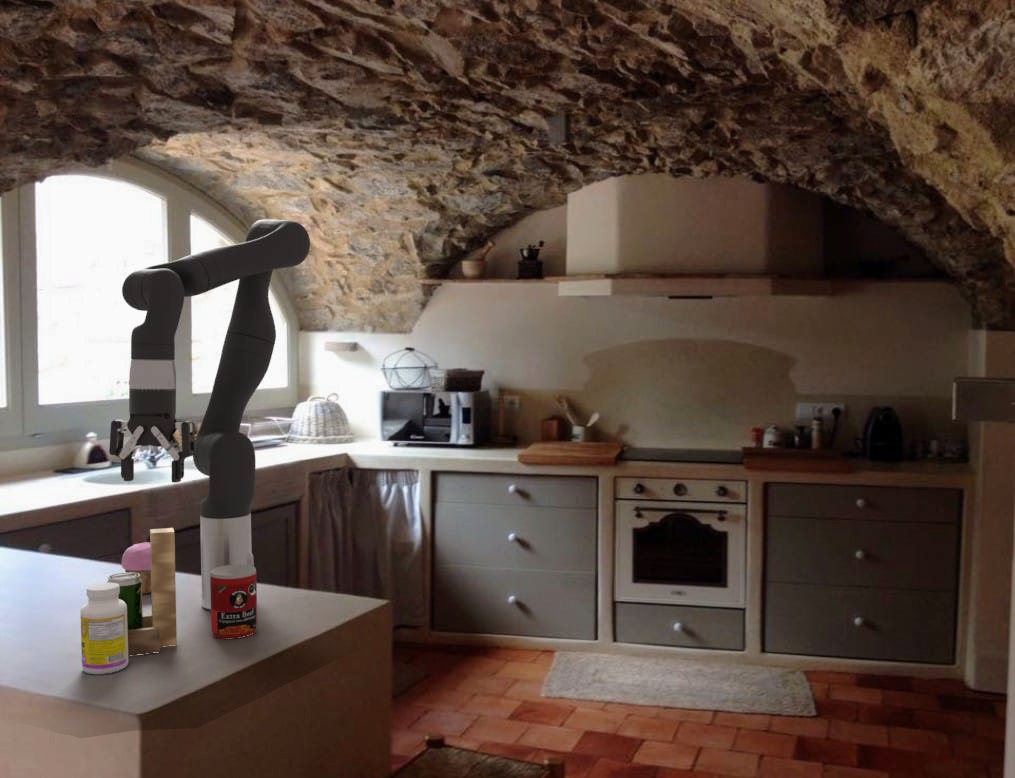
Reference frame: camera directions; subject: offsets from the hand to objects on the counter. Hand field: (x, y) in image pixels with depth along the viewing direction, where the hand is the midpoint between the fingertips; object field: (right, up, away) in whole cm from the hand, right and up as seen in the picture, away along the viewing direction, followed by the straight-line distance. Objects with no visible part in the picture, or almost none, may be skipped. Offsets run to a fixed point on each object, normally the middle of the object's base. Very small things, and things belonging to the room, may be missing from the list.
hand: (152, 481), depth 170 cm
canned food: (+14, -26, +1) cm, 30 cm away
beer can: (-2, -27, -7) cm, 28 cm away
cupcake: (-12, -25, +29) cm, 40 cm away
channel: (-2, -27, -7) cm, 28 cm away
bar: (+4, -27, -5) cm, 27 cm away
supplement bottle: (-1, -27, -17) cm, 32 cm away
